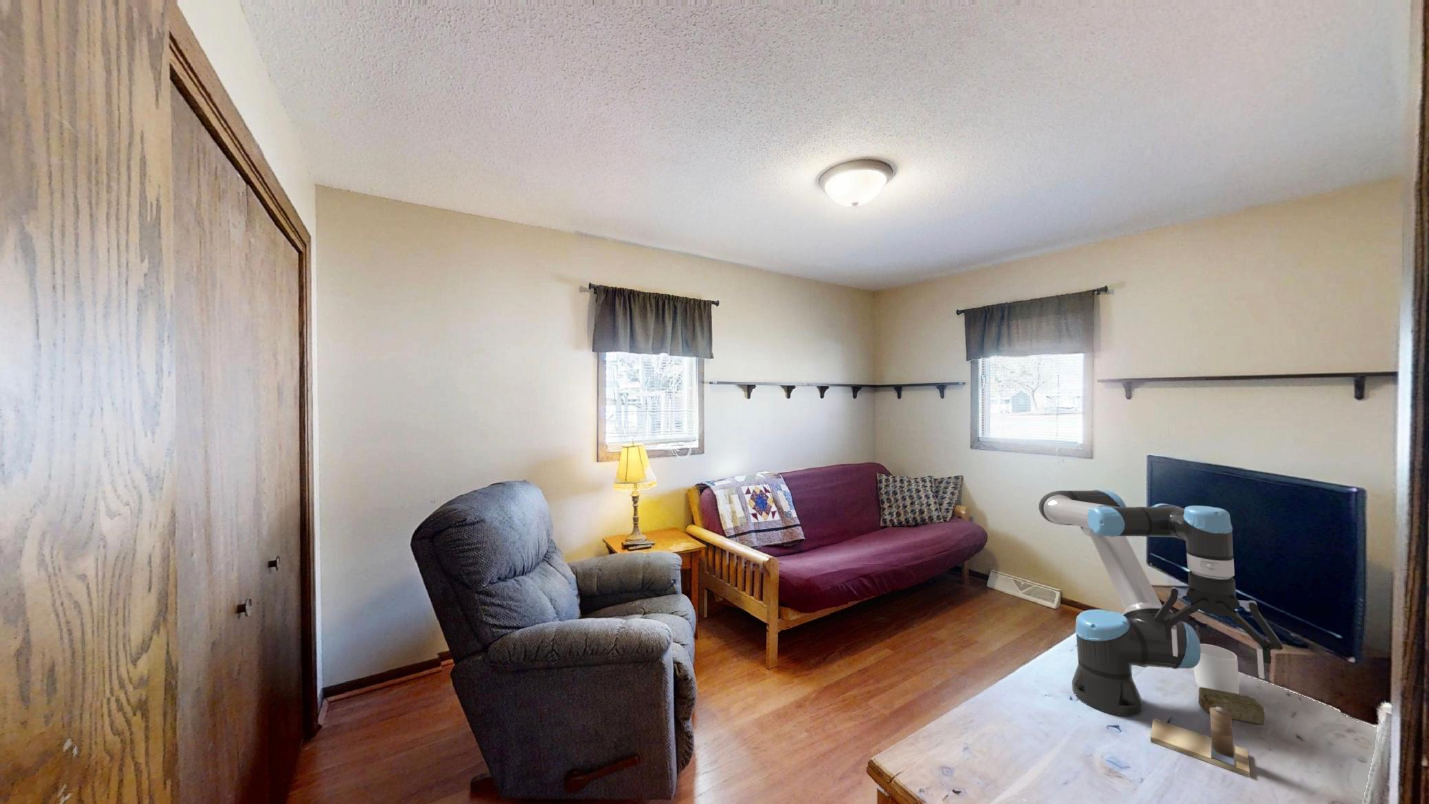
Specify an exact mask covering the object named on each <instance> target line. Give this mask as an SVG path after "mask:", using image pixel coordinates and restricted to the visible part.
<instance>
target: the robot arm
mask: <svg viewBox="0 0 1429 804" xmlns="http://www.w3.org/2000/svg"><path fill="white" fill-rule="evenodd" d="M1125 503H1126V502H1125V501H1124V500H1123V499H1122V498H1121V497H1120V495H1118V494H1117V493H1115V492H1113V491H1110V490H1101V489H1092V490H1055V491H1051V492H1049V493H1047V494H1044V496H1042V498H1041V499H1040V500H1039V503H1038V510H1039V514H1040V515H1041V517H1043V518H1044V519H1045V520H1046V521H1047V522H1049V523H1052V524H1056V525H1060V526H1061V525H1062V526H1076V527H1080V529H1081V531H1082V533H1083V534H1084V535H1086V536H1088V537H1090V538H1091V540H1092V542H1093V544H1094V547H1095V548H1096V550H1097V553H1098V555H1099V557H1100V560H1101V561H1102V564H1103V565H1104V568H1105V569H1106V572H1107V574H1108V576H1109V579H1110V580H1111V582H1112V585H1113V588H1114V590H1115V591H1116V593H1117V596H1118V598H1119V600H1120V602H1121V604H1122V607H1123V608H1124V611H1123V612H1122V613H1120V612H1115V611H1114V610H1106V609H1087V610H1083V611H1081V612H1080V613H1079V614H1078V615H1076V618H1075V619H1076V620H1075V634H1076V648H1077V650H1076V652H1077V662H1078V664H1077V667H1076V669H1075V672H1074V675H1073V677H1072V680H1071V690H1072V693H1073V692H1074V693H1073V695H1075V694H1076V695H1075V697H1076V696H1078V697H1077V699H1078V700H1080V699H1081V700H1082V702H1083V701H1084V702H1085V703H1084V702H1083V703H1084V704H1086V703H1087V704H1086V705H1088V706H1090V707H1091V708H1094V709H1095V710H1099V711H1101V712H1105V713H1108V714H1111V715H1118V716H1125V717H1128V716H1129V717H1130V716H1131V717H1132V716H1138V715H1139V714H1141V713H1142V712H1143V710H1144V709H1143V700H1142V697H1141V695H1140V693H1139V690H1138V687H1137V685H1136V684H1135V681H1134V679H1133V672H1132V670H1133V669H1132V666H1140V667H1152V668H1153V667H1154V668H1168V669H1173V670H1178V669H1187V670H1188V669H1192V668H1193V669H1194V667H1195V666H1196V665H1197V664H1198V663H1199V661H1200V657H1201V646H1200V644H1201V641H1200V639H1199V637H1198V634H1197V632H1196V631H1195V629H1194V628H1193V626H1191V625H1190V624H1189V623H1187V622H1185V621H1183V620H1185V619H1186V618H1188V617H1189V616H1190V615H1192V614H1195V613H1197V612H1198V611H1200V612H1202V613H1203V614H1208V615H1215V616H1218V617H1222V618H1223V617H1229V619H1231V620H1232V622H1235V623H1236V624H1237V625H1238V626H1239V628H1241V629H1242V630H1243V631H1244V632H1245V633H1246V634H1247V635H1248V636H1250V637H1251V639H1252V640H1254V641H1255V642H1256V654H1257V655H1256V656H1257V660H1256V661H1257V672H1258V677H1259V679H1262V680H1265V669H1264V668H1265V667H1264V664H1268V665H1271V663H1272V656H1271V655H1272V654H1271V653H1272V652H1271V651H1272V650H1279V651H1282V650H1284V646H1283V643H1282V641H1281V640H1280V638H1279V637H1278V635H1277V634H1276V633H1275V631H1274V630H1273V629H1272V627H1271V626H1270V625H1269V623H1268V622H1267V620H1266V619H1265V617H1264V616H1263V615H1262V614H1261V612H1260V611H1259V608H1258V604H1257V601H1256V600H1254V599H1249V600H1239V599H1238V598H1237V592H1236V580H1235V578H1234V576H1235V562H1234V560H1235V559H1234V548H1233V547H1234V545H1233V544H1234V542H1233V530H1234V529H1233V525H1232V522H1231V515H1230V513H1229V512H1228V511H1227V510H1226V509H1223V508H1221V507H1214V506H1208V505H1207V506H1206V505H1189V506H1186V507H1185V508H1182V507H1180V506H1178V505H1173V504H1168V503H1157V504H1154V505H1151V506H1127V505H1126V504H1125ZM1127 537H1148V538H1149V537H1151V538H1152V537H1153V538H1154V537H1155V538H1157V537H1158V538H1177V539H1179V540H1182V541H1185V547H1186V562H1187V569H1188V570H1189V571H1188V572H1187V575H1188V577H1187V578H1188V579H1187V580H1188V590H1186V589H1181V588H1179V587H1178V586H1176V585H1173V586H1171V589H1170V595H1169V596H1168V598H1167V599H1166V600H1165V602H1164V603H1163V605H1162V602H1161V601H1160V599H1159V597H1158V595H1157V592H1156V590H1155V589H1154V588H1153V586H1152V583H1151V582H1150V580H1149V578H1148V576H1147V574H1146V573H1145V570H1144V568H1143V566H1142V564H1141V562H1140V561H1139V559H1138V557H1137V555H1136V553H1135V551H1134V550H1133V547H1132V545H1131V544H1130V542H1129V540H1128V538H1127ZM1184 596H1186V598H1188V599H1189V600H1190V601H1191V602H1189V603H1188V604H1187V605H1185V606H1184V607H1183V608H1181V609H1180V610H1178V611H1177V612H1175V613H1174V612H1173V611H1172V610H1171V609H1173V607H1174V605H1175V604H1176V602H1177V601H1178V599H1182V598H1183V597H1184ZM1239 607H1242V608H1243V609H1244V610H1245V611H1246V612H1250V614H1251V616H1252V617H1253V619H1254V620H1255V621H1256V623H1257V625H1258V626H1259V627H1260V629H1261V630H1262V631H1263V633H1264V635H1265V636H1266V637H1267V638H1268V640H1267V639H1266V638H1265V637H1264V636H1263V635H1262V634H1261V633H1259V632H1258V631H1257V630H1256V629H1255V628H1254V627H1253V626H1252V625H1251V624H1250V623H1249V622H1248V621H1247V620H1245V618H1244V617H1242V616H1241V615H1240V613H1238V612H1237V611H1236V610H1237V609H1238V608H1239ZM1081 700H1080V701H1081Z"/></svg>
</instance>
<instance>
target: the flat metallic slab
mask: <svg viewBox="0 0 1429 804" xmlns="http://www.w3.org/2000/svg"><path fill="white" fill-rule="evenodd" d="M1152 719H1153V720H1152V723H1151V725H1152V726H1151V731H1150V742H1151V743H1154V744H1156V745H1159V746H1162V747H1164V748H1167V749H1170V750H1173V751H1177V752H1178V753H1181V754H1184V755H1187V756H1190V757H1193V758H1195V759H1199V760H1201V761H1204V762H1206V763H1209V764H1212V765H1215V766H1217V767H1220V768H1223V769H1226V770H1228V771H1231V772H1235V773H1236V774H1239V775H1243V776H1245V777H1248V778H1251V773H1250V770H1251V769H1250V763H1249V752H1248V749H1246V748H1243V747H1239V746H1237V745H1234V744H1233V748H1234V756H1225V755H1222V754H1220V753H1218V752H1216V751H1215V750H1214V749H1213V748H1212V736H1207V735H1203V734H1201V733H1199V732H1196V731H1193V730H1189V729H1186V728H1183V727H1180V726H1177V725H1175V724H1171V723H1168V722H1166V721H1161V720H1159V719H1156V718H1152Z"/></svg>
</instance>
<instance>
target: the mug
mask: <svg viewBox="0 0 1429 804" xmlns="http://www.w3.org/2000/svg"><path fill="white" fill-rule="evenodd" d="M1200 646H1201V657H1200V661H1199V663H1198V664H1197V665H1196V666H1195V667H1193V669H1194V671H1193V672H1194V681H1195V684H1196V686H1198V688H1200V687H1204V688H1209V689H1214V690H1220V691H1225V692H1230V693H1236V694H1240V681H1239V665H1238V656H1237V654H1236V653H1234V652H1233V651H1231V650H1229V649H1226V648H1223V647H1221V646H1218V645H1213V644H1208V643H1200Z"/></svg>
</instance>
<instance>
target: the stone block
mask: <svg viewBox="0 0 1429 804" xmlns="http://www.w3.org/2000/svg"><path fill="white" fill-rule="evenodd" d="M1197 703H1198V705H1199V706H1200V708H1201V709H1202V710H1203V711H1204V712H1206V713H1209V714H1210V708H1212V707H1215V708H1216V707H1221V708H1223V709H1224V710H1225V711H1227V712H1229V713H1230V714H1231V718H1232V720H1238V721H1240V722H1241V721H1242V722H1246V723H1251V724H1256V725H1257V724H1258V725H1264V723H1265V720H1266V713H1265V712H1266V711H1265V708H1264V706H1263V705H1262V704H1261V703H1260V702H1258V700H1256V699H1255V698H1254V697H1250V696H1248V695H1245V694H1240V693H1239V694H1236V693H1230V692H1225V691H1220V690H1214V689H1209V688H1204V687H1198V701H1197Z"/></svg>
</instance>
